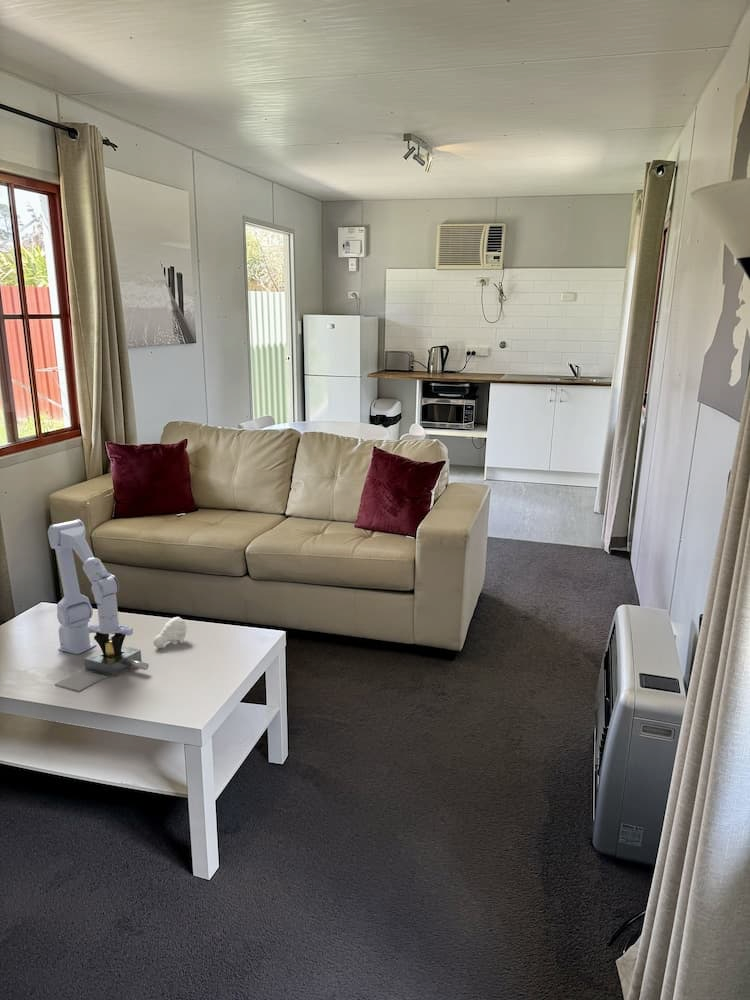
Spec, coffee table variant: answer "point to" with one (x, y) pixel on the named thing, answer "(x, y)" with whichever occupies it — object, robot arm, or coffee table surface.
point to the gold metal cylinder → (109, 649)
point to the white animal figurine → (171, 632)
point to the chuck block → (114, 662)
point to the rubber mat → (80, 681)
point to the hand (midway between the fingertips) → (112, 654)
